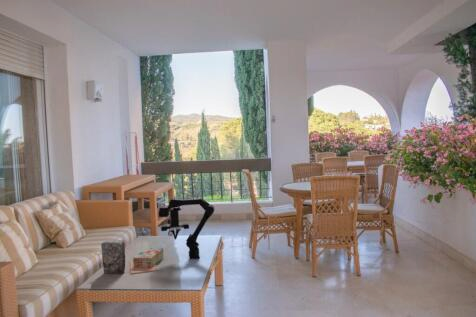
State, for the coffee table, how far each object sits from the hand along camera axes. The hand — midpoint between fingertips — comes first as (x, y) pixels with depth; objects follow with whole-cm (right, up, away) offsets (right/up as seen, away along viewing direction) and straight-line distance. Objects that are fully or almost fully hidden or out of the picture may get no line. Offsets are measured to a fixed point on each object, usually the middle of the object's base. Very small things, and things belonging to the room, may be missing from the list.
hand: (175, 239), depth 259 cm
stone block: (-34, -16, -24) cm, 44 cm away
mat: (-19, -14, -14) cm, 27 cm away
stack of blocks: (-10, -10, -9) cm, 17 cm away
